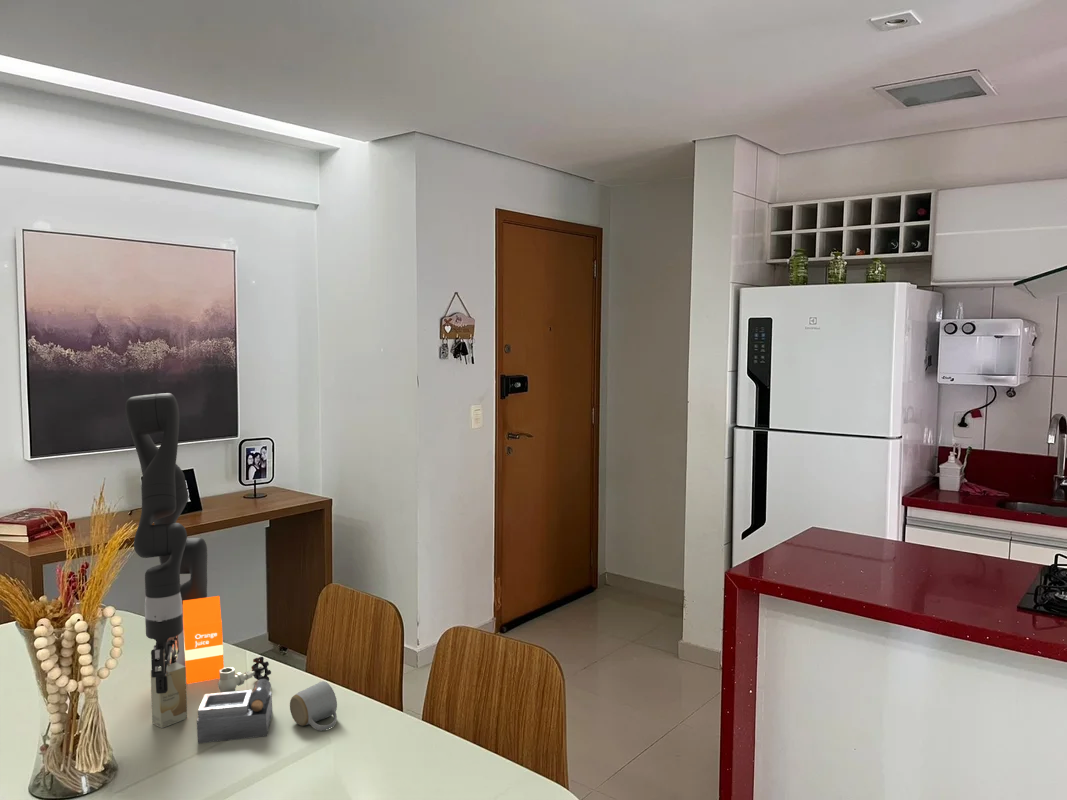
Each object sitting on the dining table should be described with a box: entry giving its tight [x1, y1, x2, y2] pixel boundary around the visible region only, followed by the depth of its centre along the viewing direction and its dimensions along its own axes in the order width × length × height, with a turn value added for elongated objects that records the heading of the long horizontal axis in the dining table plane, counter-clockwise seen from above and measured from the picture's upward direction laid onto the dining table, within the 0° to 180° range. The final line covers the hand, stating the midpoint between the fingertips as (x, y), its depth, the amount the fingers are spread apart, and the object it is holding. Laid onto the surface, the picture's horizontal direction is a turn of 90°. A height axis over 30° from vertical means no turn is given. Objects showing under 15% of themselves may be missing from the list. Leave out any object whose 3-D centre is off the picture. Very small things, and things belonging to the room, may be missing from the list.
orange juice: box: [183, 595, 225, 685], centre depth 206 cm, size 8×9×20 cm
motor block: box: [196, 679, 273, 744], centre depth 179 cm, size 11×14×9 cm
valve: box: [217, 656, 272, 693], centre depth 198 cm, size 7×7×12 cm
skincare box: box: [150, 662, 188, 729], centre depth 182 cm, size 6×4×12 cm
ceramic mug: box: [289, 680, 338, 732], centre depth 181 cm, size 11×8×8 cm
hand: (166, 684), depth 182 cm, fingers open, 8 cm apart
